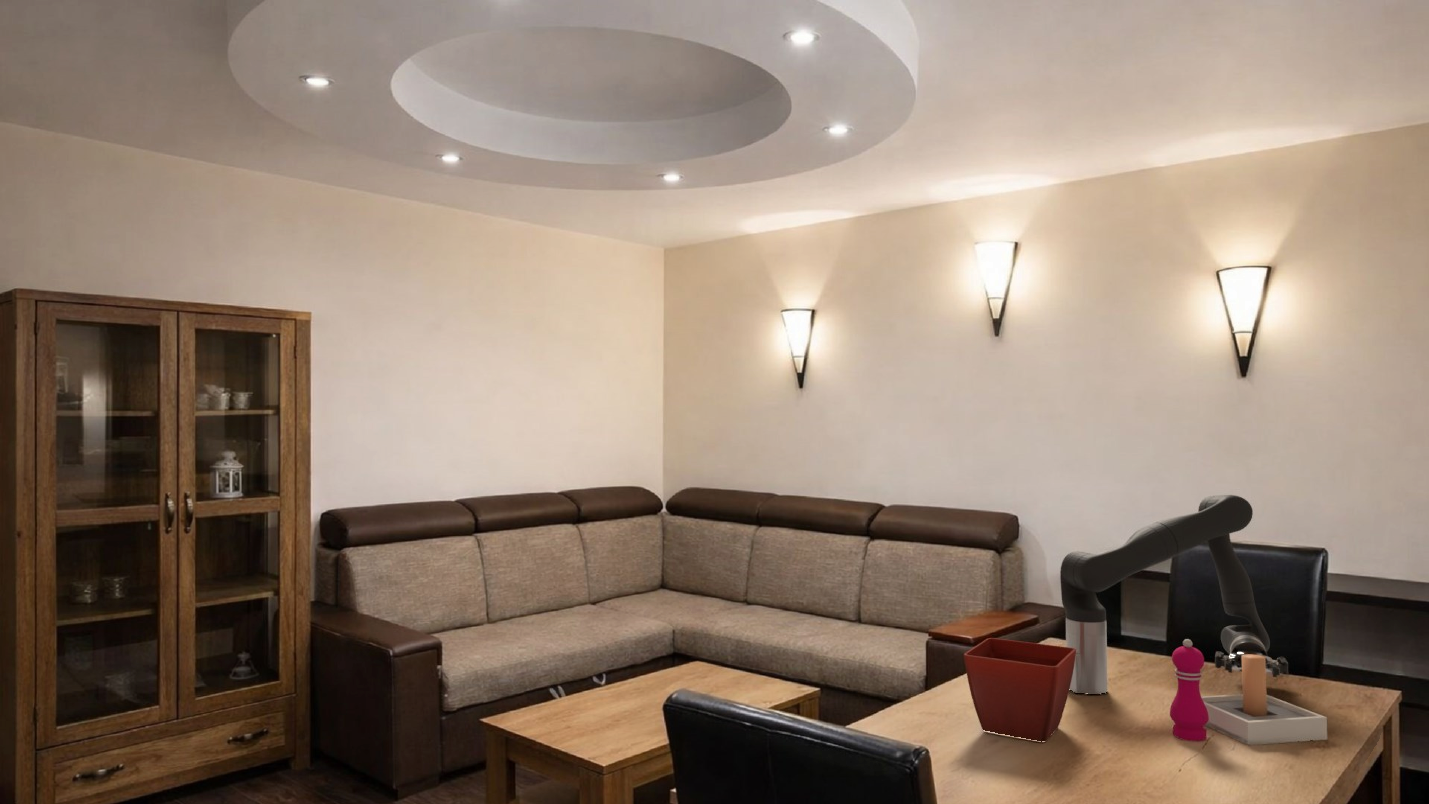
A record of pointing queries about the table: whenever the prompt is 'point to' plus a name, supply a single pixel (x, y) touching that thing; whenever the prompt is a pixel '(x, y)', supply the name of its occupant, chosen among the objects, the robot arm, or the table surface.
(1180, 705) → the pepper mill
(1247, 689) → the peg
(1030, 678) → the plant pot
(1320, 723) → the tray
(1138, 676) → the table surface
